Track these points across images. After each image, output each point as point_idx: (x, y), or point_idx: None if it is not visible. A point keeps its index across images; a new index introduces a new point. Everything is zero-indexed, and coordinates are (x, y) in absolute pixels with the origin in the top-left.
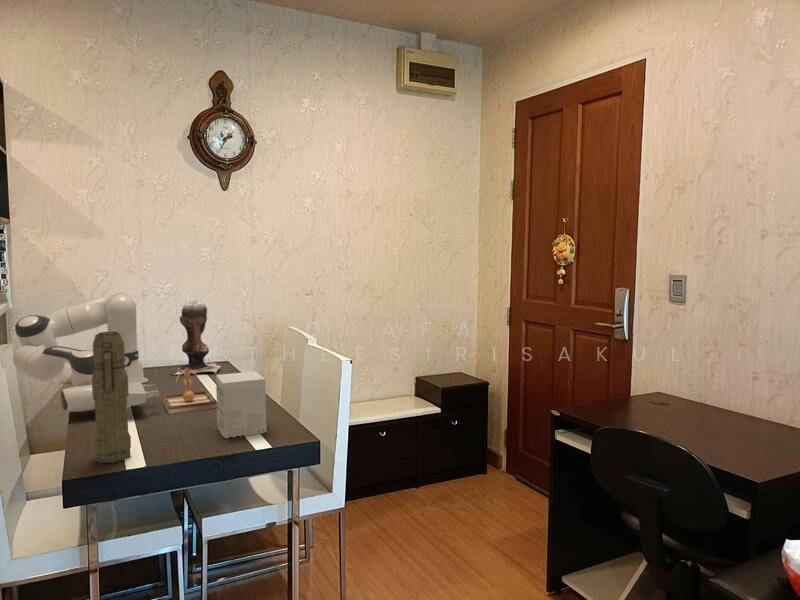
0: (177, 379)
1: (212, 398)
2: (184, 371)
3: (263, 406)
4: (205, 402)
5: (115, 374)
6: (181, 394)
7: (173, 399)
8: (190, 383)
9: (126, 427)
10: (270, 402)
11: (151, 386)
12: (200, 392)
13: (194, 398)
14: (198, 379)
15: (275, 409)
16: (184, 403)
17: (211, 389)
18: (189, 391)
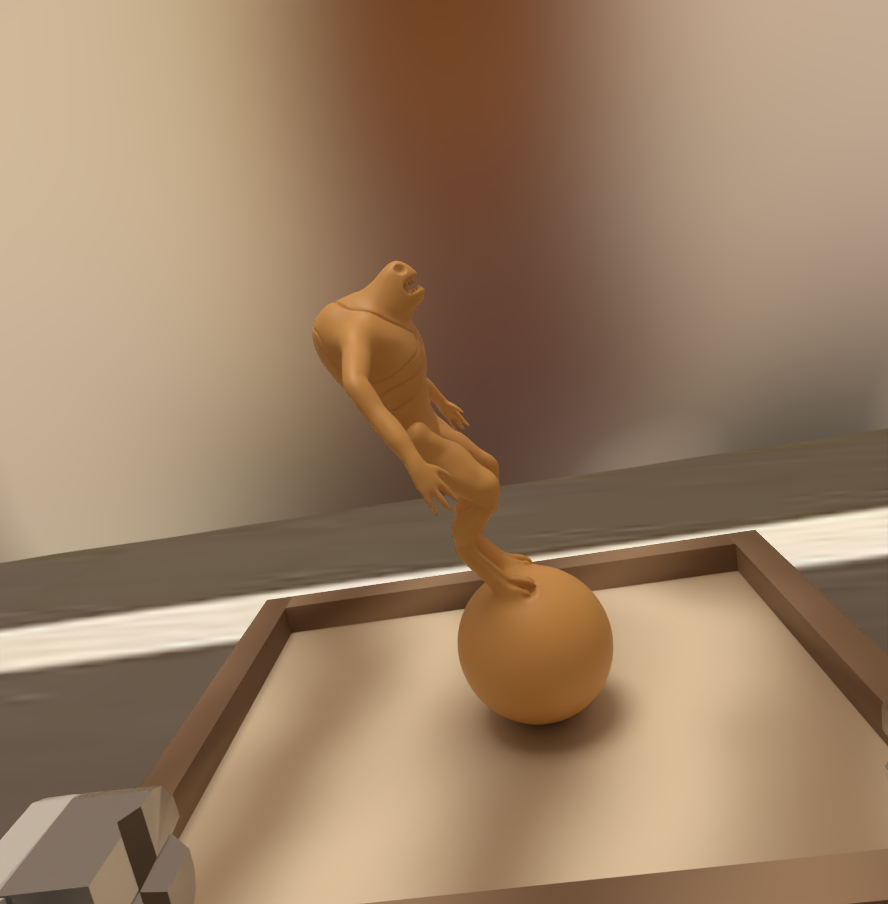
0: (410, 443)
1: (621, 552)
2: (368, 313)
3: None
4: (788, 568)
5: None
6: (202, 752)
7: (281, 866)
8: (496, 461)
9: None
10: (677, 460)
11: (104, 896)
12: (276, 631)
13: (415, 679)
14: (454, 411)
15: (859, 438)
16: (633, 743)
17: (53, 651)
18: (540, 568)
